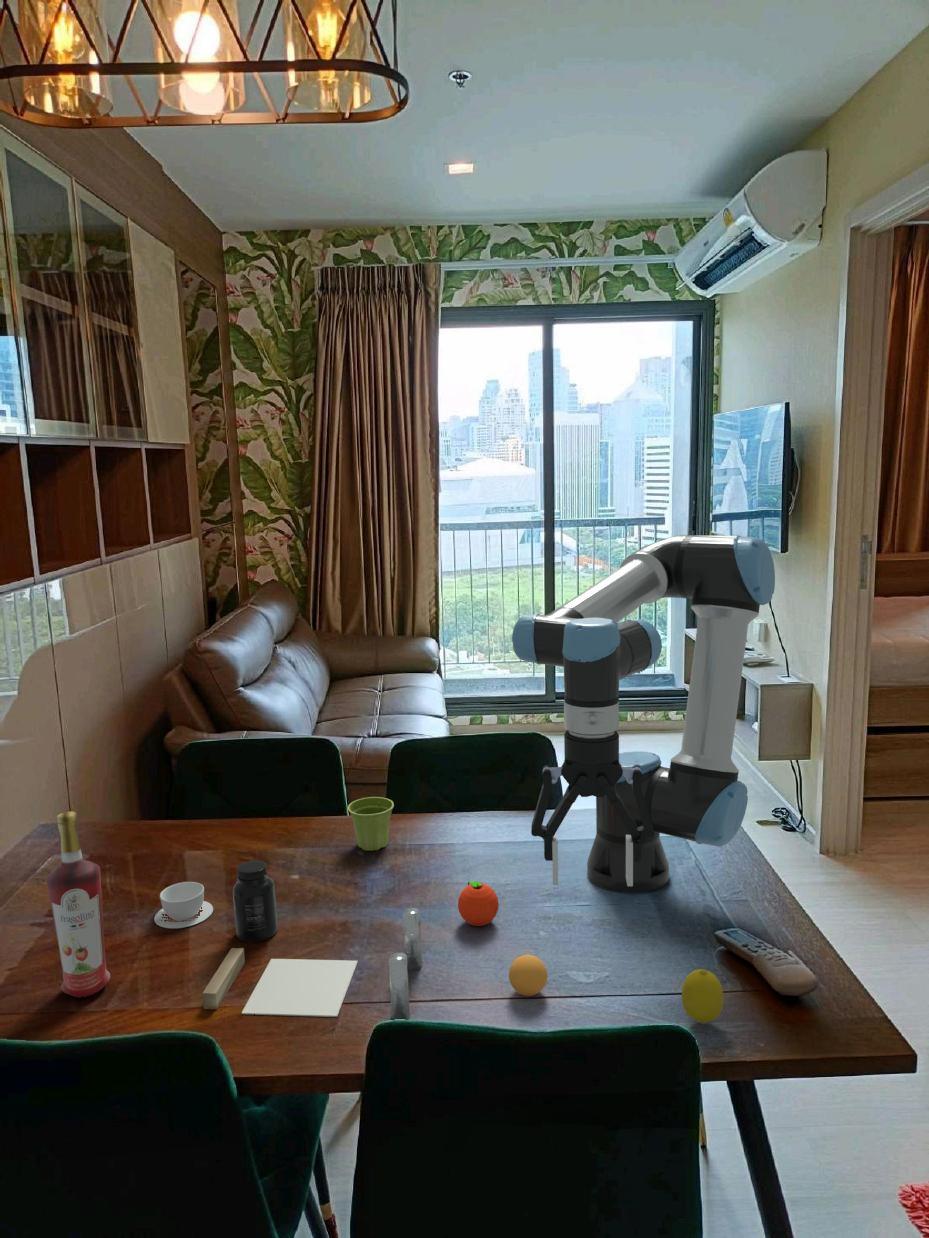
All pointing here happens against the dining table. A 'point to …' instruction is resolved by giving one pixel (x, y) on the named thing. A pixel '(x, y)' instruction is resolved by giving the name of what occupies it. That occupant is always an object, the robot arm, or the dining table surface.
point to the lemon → (702, 996)
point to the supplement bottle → (254, 903)
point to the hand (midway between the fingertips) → (592, 881)
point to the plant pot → (371, 821)
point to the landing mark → (301, 988)
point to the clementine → (478, 904)
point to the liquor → (77, 914)
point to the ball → (528, 975)
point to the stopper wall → (223, 978)
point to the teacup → (183, 905)
